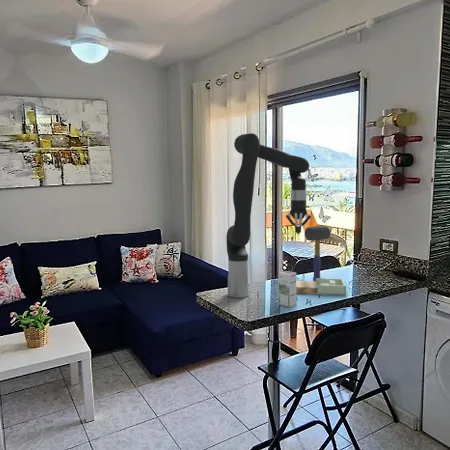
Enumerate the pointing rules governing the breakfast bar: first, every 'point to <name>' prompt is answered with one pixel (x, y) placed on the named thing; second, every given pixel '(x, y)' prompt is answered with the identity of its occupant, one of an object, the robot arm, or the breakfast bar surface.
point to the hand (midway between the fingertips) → (298, 233)
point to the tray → (331, 287)
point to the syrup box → (287, 288)
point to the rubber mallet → (317, 244)
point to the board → (306, 287)
